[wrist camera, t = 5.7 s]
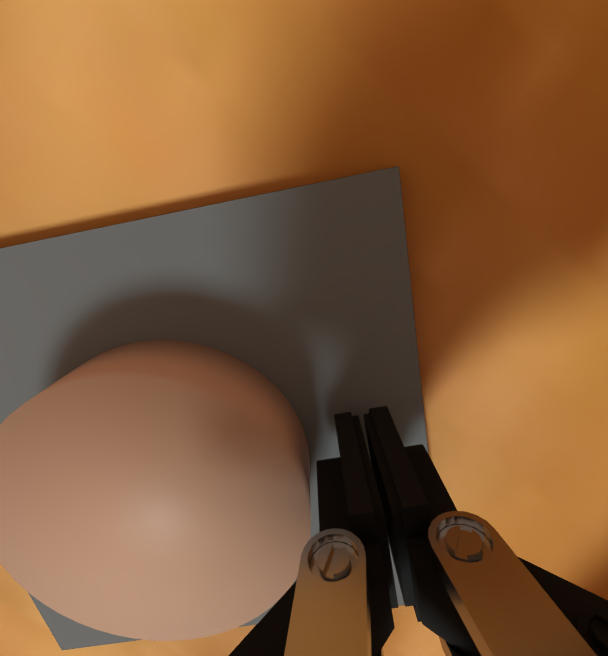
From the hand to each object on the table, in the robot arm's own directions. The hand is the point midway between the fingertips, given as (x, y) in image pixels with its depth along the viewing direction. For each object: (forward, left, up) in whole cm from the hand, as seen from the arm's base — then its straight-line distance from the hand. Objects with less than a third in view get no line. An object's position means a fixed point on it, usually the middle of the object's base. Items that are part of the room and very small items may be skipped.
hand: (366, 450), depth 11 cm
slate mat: (+6, 0, -1) cm, 6 cm away
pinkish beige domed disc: (+6, 0, -1) cm, 6 cm away
